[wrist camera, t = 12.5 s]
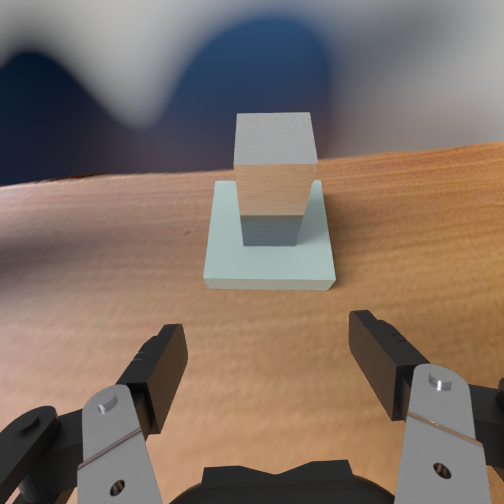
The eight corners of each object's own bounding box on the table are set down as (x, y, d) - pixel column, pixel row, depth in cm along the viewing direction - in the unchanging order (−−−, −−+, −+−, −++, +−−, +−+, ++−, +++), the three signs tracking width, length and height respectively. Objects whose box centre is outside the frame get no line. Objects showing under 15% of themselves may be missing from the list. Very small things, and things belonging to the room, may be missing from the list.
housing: (243, 246, 23) (233, 164, 14) (245, 205, 25) (237, 113, 16) (295, 246, 23) (318, 163, 14) (291, 205, 25) (309, 112, 16)
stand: (209, 289, 24) (203, 278, 21) (219, 198, 30) (215, 180, 27) (327, 290, 24) (335, 280, 21) (315, 198, 29) (320, 180, 27)
